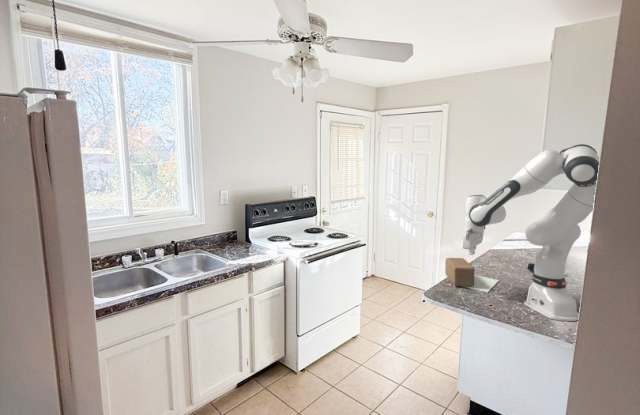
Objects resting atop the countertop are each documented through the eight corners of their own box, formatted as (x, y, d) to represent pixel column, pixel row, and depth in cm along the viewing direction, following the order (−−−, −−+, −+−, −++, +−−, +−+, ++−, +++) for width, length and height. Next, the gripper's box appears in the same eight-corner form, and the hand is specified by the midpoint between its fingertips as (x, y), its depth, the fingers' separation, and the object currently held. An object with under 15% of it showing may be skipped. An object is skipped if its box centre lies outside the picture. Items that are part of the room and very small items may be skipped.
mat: (487, 292, 166) (487, 291, 166) (454, 284, 176) (454, 284, 176) (498, 280, 182) (499, 280, 182) (468, 274, 193) (468, 273, 193)
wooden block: (475, 267, 170) (463, 257, 190) (454, 267, 171) (445, 257, 191) (474, 287, 171) (463, 274, 191) (454, 286, 172) (444, 274, 192)
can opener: (526, 272, 197) (527, 263, 196) (527, 269, 203) (527, 260, 202) (563, 278, 187) (564, 268, 187) (563, 275, 193) (564, 265, 192)
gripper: (474, 231, 156) (472, 260, 157) (486, 225, 171) (484, 251, 173) (460, 229, 160) (458, 257, 161) (473, 223, 175) (471, 249, 177)
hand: (471, 254), depth 167 cm, fingers closed
